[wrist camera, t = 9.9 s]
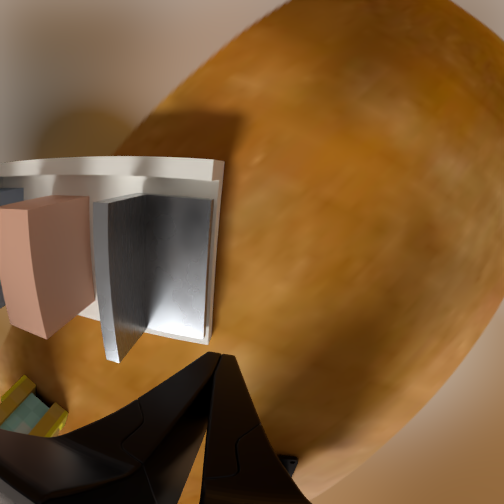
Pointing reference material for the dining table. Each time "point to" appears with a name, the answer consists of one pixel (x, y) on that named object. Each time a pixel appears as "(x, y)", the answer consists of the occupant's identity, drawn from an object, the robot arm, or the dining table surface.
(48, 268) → the book block
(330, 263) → the dining table surface
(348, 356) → the dining table surface
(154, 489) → the robot arm
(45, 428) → the book
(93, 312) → the shelf
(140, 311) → the bookend
